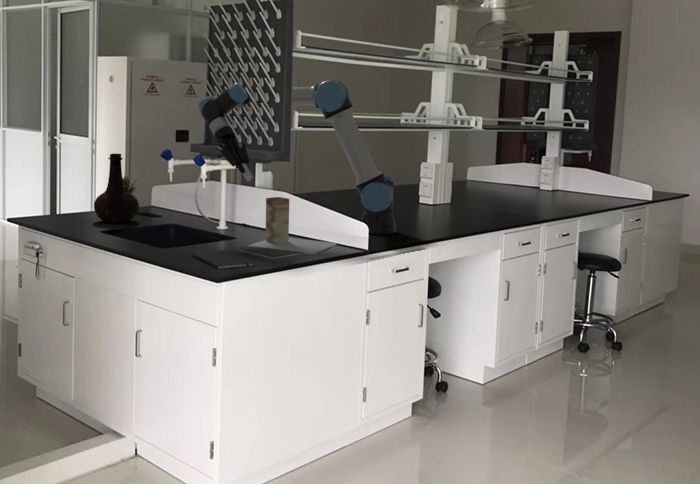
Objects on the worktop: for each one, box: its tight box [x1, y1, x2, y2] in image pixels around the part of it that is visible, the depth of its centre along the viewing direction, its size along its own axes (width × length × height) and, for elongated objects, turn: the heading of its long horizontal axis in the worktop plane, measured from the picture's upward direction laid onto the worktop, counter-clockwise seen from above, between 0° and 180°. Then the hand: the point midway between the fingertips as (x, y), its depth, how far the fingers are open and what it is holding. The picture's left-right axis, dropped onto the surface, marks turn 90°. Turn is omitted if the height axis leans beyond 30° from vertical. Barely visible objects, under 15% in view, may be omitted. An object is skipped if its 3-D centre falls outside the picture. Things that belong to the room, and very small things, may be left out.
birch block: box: [264, 196, 290, 243], centre depth 287 cm, size 6×6×16 cm
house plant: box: [122, 174, 138, 195], centre depth 355 cm, size 14×14×16 cm
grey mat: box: [247, 237, 338, 256], centre depth 284 cm, size 22×26×1 cm
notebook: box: [191, 250, 254, 270], centre depth 255 cm, size 13×2×21 cm
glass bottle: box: [93, 153, 140, 224], centre depth 319 cm, size 18×18×28 cm
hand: (249, 178), depth 295 cm, fingers closed
